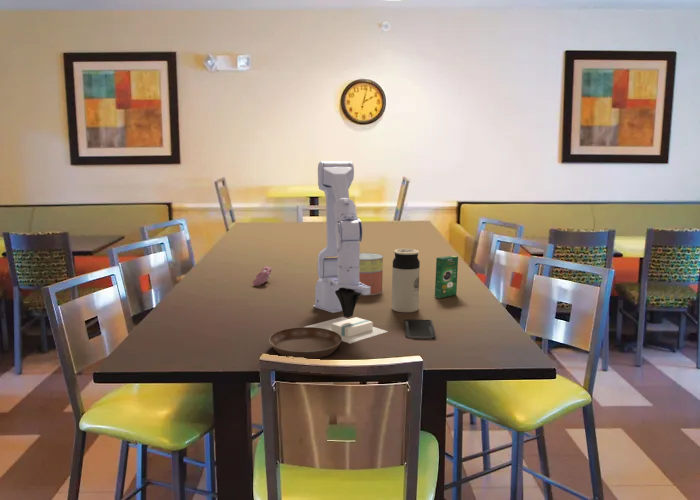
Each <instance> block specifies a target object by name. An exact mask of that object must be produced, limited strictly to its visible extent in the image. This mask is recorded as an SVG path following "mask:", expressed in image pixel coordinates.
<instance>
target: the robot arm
mask: <svg viewBox="0 0 700 500" xmlns="http://www.w3.org/2000/svg"><path fill="white" fill-rule="evenodd" d="M354 167H355V166H354V163H353V162H352V161H351V160H347V161H323V160H320V161H319V162H318V164H317V186H318V189H319V191H323V192H324V196H325V211H326V213H325V218H326V220H325V221H326V247H324V248H323V249H322V250H321V251H319V253H318V255H317V267H316V270H317V277H318V278H319V279H317V281H316V284H315V286H314V287H315V293H314V294H315V296H314V297H315V299H314V300H315V301H314V302H315V304H313V306H312V307H313V308H316V309H319V310H322V311H326V312H329V313H332V314H335V313H340V312H342V315H343V317H344V318H350V317H353V315H354V311H355V308H356V305H357V302H358V300H359V298H360V297H361V296H369V295H368V294H370V287H369V286H367V285H365V284H363V283H361V282H359V262H360V253H361V252H360V251H361V250H360V248H361V247H360V245H361V243H362V240H363V234H364V233H363V224H362V220H361V219H360V217H358V216H357V209H356V205H355V202H354V201H353V200H352V199H350V193H349V191H350V190H349V189H350V187H351V186H352V183H353V181H354V178H355V168H354ZM361 293H362V294H363V295H361Z"/></svg>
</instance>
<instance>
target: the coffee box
mask: <svg viewBox="0 0 700 500" xmlns="http://www.w3.org/2000/svg"><path fill="white" fill-rule="evenodd" d="M435 258H436V260H435V261H436V262H435V283H434V284H435V285H434V297H435V298H437V299H442V298H448V297H452V296H453V297H454V296H456V295H457V293H458V291H457V289H458V270H459V269H458V267H459V256H457V255H446V256H440V257H435Z"/></svg>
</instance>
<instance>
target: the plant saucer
mask: <svg viewBox="0 0 700 500" xmlns="http://www.w3.org/2000/svg"><path fill="white" fill-rule="evenodd" d="M268 342H269V344H270V346H271V347H272V348H273V350H275V352H276V353H277V354H279V355H281V356H283V355H285V356H293V357H304V358H314V359H319V358H323V357H326V356H329V355H332V353H334V351H336V350H337V348H338V347H339V346H340V344H341V342H343V341H342V338H341V336H340V335H339V334H338V333H336V332H334V331H331V330H328V329H323V328H316V327H305V326H302V327H301V326H300V327H290V328H285V329H282V330H279V331H276V332H275V333H273V334H271V335H270V336H269V338H268ZM285 356H284V357H285Z"/></svg>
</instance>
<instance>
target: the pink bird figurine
mask: <svg viewBox="0 0 700 500" xmlns="http://www.w3.org/2000/svg"><path fill="white" fill-rule="evenodd" d="M272 270H273V269H272V267H270V266H265V267H263V268H262V269H261V271H260V272H259V273H258V274H257V275H256V276H255V279H253V281H252V285H253V286H254V287H257V286H260V285H262V284H263V285H265V284H266V282H267V281H269V280H270V279H271V272H272ZM264 283H265V284H264Z"/></svg>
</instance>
